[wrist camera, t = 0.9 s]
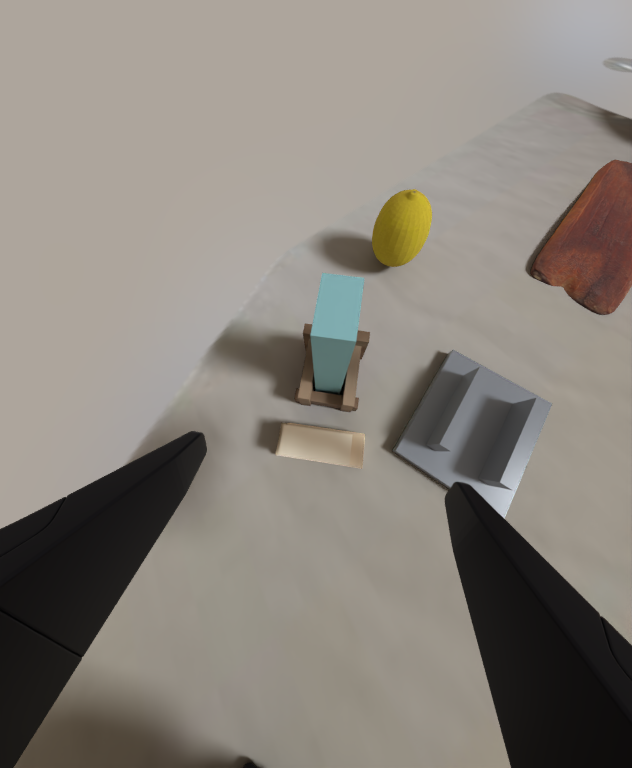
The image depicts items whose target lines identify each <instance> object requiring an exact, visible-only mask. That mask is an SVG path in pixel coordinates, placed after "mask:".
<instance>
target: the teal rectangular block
mask: <svg viewBox="0 0 632 768" xmlns="http://www.w3.org/2000/svg"><path fill="white" fill-rule="evenodd" d="M363 285H364V278H360V277H352V276H343V275H335V274H327V273H322V277H321V283H320V288H319V293H318V298H317V304H316V309H315V314H314V319H313V325H312V330H311V335H310V336H311V346H312V357H313V368H314V378H315V389H316V391H317V392H323V393H330V394H336V395H339V394H340V391H341V388H342V385H343V382H344V379H345V376H346V372H347V369H348V366H349V363H350V360H351V357H352V353H353V350H354V347H355V344H356V340H357V332H358V324H359V316H360V308H361V301H362V293H363Z"/></svg>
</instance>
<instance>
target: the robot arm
mask: <svg viewBox="0 0 632 768" xmlns="http://www.w3.org/2000/svg"><path fill="white" fill-rule="evenodd" d="M206 452H207V447H206V441H205V436H204V434H203V433H201V432H196V431H191V432H189V433H187V434H185V435H183V436H181V437H179V438H177V439H175V440H173V441H171V442H169V443H168V444H166V445H164V446H162V447H160V448H158V449H156V450H154V451H152V452H150V453H148V454H146V455H144V456H143V457H141V458H139V459H137V460H135V461H133V462H131V463H129V464H127V465H125V466H123V467H121V468H119V469H118V470H116V471H114V472H112V473H110V474H108V475H106V476H104V477H102V478H100V479H98V480H97V481H94V482H93V483H91V484H89V485H87V486H85V487H83V488H81V489H79V490H77V491H75V492H73V493H71V494H69V495H68V496H67V497H64V498H62V499H60V500H58V501H56V502H54V503H52V504H50V505H48V506H46V507H44V508H42V509H40V510H38V511H36V512H34V513H32V514H30V515H28V516H27V517H24V518H23V519H20V520H18V521H16V522H14V523H12V524H10V525H8V526H6V527H4V528H1V529H0V768H13V767H14V766H15V764H16V763H17V761H18V759H19V758H20V756H21V755H22V753H23V751H24V750H25V748H26V747H27V745H28V744H29V742H30V740H31V739H32V737H33V736H34V734H35V732H36V731H37V729H38V728H39V726H40V725H41V723H42V721H43V720H44V718H45V717H46V715H47V713H48V712H49V710H50V709H51V707H52V706H53V704H54V702H55V701H56V699H57V698H58V696H59V694H60V693H61V691H62V690H63V688H64V687H65V685H66V683H67V682H68V680H69V679H70V677H71V675H72V674H73V672H74V671H75V669H76V668H77V666H78V664H79V663H80V661H81V660H82V657H83V656H84V654H85V653H86V651H87V650H88V648H89V647H90V645H91V643H92V642H93V640H94V639H95V637H96V635H97V634H98V632H99V631H100V629H101V628H102V626H103V624H104V623H105V621H106V620H107V618H108V616H109V615H110V613H111V612H112V610H113V609H114V607H115V605H116V604H117V602H118V601H119V599H120V597H121V596H122V594H123V593H124V591H125V590H126V588H127V586H128V585H129V583H130V582H131V580H132V578H133V577H134V575H135V574H136V572H137V571H138V569H139V567H140V566H141V564H142V563H143V561H144V559H145V558H146V556H147V555H148V553H149V552H150V550H151V548H152V547H153V545H154V544H155V542H156V540H157V539H158V537H159V536H160V534H161V533H162V531H163V529H164V528H165V526H166V525H167V523H168V521H169V520H170V518H171V517H172V515H173V514H174V512H175V510H176V509H177V507H178V506H179V504H180V502H181V501H182V499H183V498H184V496H185V494H186V492H187V491H188V489H189V487H190V485H191V483H192V481H193V479H194V477H195V475H196V473H197V471H198V469H199V467H200V465H201V463H202V461H203V459H204V457H205V455H206ZM445 507H446V513H447V519H448V525H449V531H450V537H451V543H452V548H453V552H454V557H455V560H456V564H457V568H458V572H459V575H460V579H461V583H462V587H463V590H464V594H465V598H466V601H467V605H468V609H469V613H470V616H471V620H472V624H473V628H474V631H475V635H476V639H477V642H478V646H479V650H480V654H481V657H482V661H483V665H484V669H485V672H486V676H487V680H488V683H489V687H490V691H491V695H492V698H493V702H494V706H495V709H496V713H497V717H498V721H499V724H500V728H501V732H502V736H503V739H504V743H505V747H506V750H507V754H508V758H509V762H510V765H511V768H632V645H631V644H630V643H629V642H628V641H627V640H626V639H625V638H624V637H623V636H622V635H621V634H620V633H619V632H618V631H617V630H616V629H615V628H614V627H613V626H612V625H611V624H610V623H609V622H608V621H607V620H606V619H605V618H603V617H602V616H600V614H599V613H598V612H597V611H596V610H595V609H594V608H593V607H592V606H591V605H590V604H589V603H588V602H587V601H586V600H585V599H584V598H583V597H582V596H581V595H580V594H579V593H578V592H577V591H576V590H575V589H574V588H573V587H572V586H571V585H570V584H569V583H568V582H567V581H566V580H565V579H564V578H563V577H562V576H561V575H560V574H559V573H558V572H557V571H556V570H555V569H554V568H553V567H552V566H551V565H550V564H549V563H548V562H547V561H546V560H545V559H544V558H543V557H542V556H541V555H540V554H539V553H538V552H537V551H536V550H535V549H534V548H533V547H532V546H531V545H530V544H529V543H528V542H527V541H526V540H525V539H524V538H523V537H522V536H521V535H520V534H519V533H518V532H517V531H516V530H515V529H514V528H513V527H512V526H511V525H510V524H509V523H508V522H507V521H506V520H505V519H504V518H503V517H502V516H501V515H500V514H499V513H498V512H497V511H496V510H495V509H494V508H493V507H492V506H491V505H490V504H489V503H488V502H487V501H486V500H485V499H484V498H483V497H482V496H481V495H480V494H479V493H478V492H477V491H476V490H475V489H474V488H473V487H472V486H471V485H469V484H468V483H463V482H458V481H456V482H454V483H453V485H452V486H451V488H450V489H449V491H448V492H447V494H446V496H445ZM243 768H256V767H255V766H254V765H253V764H252V763H247V764H245V765H244V767H243Z"/></svg>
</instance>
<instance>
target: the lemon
mask: <svg viewBox="0 0 632 768" xmlns="http://www.w3.org/2000/svg"><path fill="white" fill-rule="evenodd" d="M431 220H432V211H431V205H430V203H429V201H428V199H427V198H426V197H425V196H424V195H423V194H422V193H421V192H419V191H417V190H415V189H413V190H404V191H401V192H399V193H397V194H395V195H394V196H392V197H391V198H390V199H389V200H388V201H387V202H386V203H385V205H384V206H383V208H382V209H381V211H380V213H379V215H378V217H377V220H376V222H375V225H374V229H373V236H372V246H373V251H374V254H375V256H376V257H377V259H378V260H379V261H380V262H381V263H383V264H384V265H387V266H391V267H397V266H401V265H404V264H406V263H408V262H409V261H411V260H412V259H413V258H414V257H415V256H416V255H417V254H418V253H419V251H420V250H421V248H422V247H423V245H424V243H425V241H426V239H427V237H428V234H429V230H430V225H431Z"/></svg>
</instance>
